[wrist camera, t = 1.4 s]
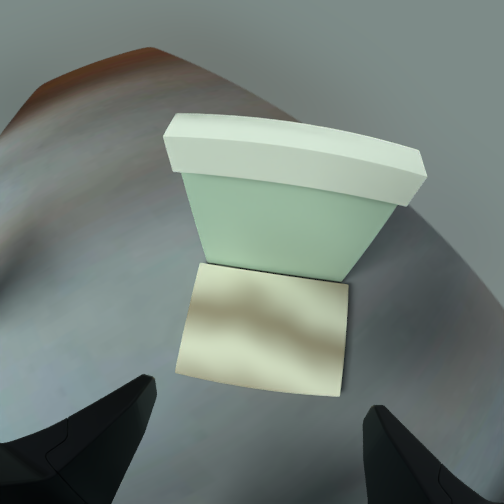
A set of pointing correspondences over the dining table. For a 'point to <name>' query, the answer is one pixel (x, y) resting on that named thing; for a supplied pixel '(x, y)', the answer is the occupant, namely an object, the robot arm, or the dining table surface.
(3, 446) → the robot arm
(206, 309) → the plate
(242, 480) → the dining table surface
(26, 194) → the dining table surface
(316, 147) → the panel
